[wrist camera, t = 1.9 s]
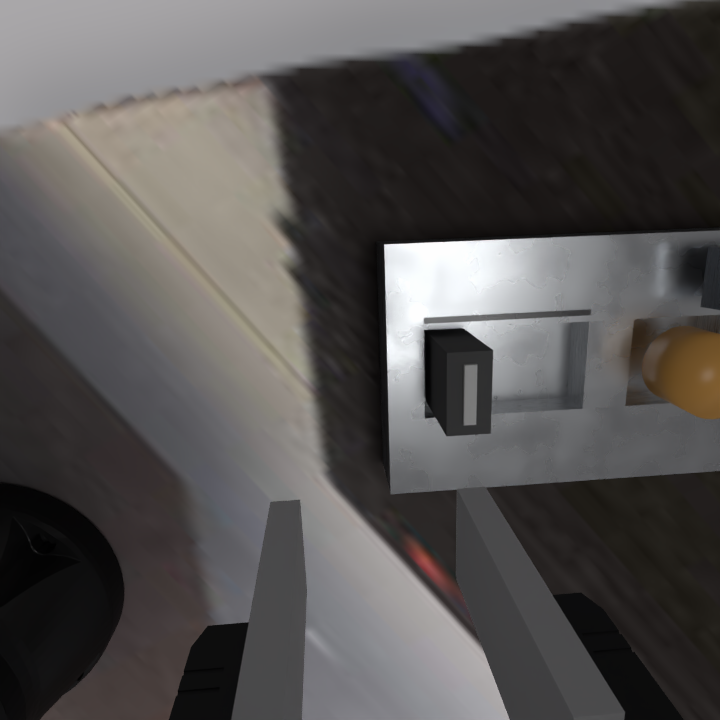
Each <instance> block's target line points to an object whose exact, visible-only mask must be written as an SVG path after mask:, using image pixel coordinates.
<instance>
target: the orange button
mask: <svg viewBox="0 0 720 720" xmlns="http://www.w3.org/2000/svg"><path fill="white" fill-rule="evenodd" d="M642 376H643V380H644V383H645V385H646V386H647V388H648V389H649V390H650V391H651V392H652V393H653V394H655V395H656V396H658V397H660V398H662V399H664V400H666V401H667V402H669V403H671V404H673V405H675V406H677V407H679V408H681V409H683V410H685V411H687V412H689V413H691V414H693V415H695V416H697V417H699V418H703V419H719V418H720V334H718V333H714V332H711V331H707V330H704V329H700V328H697V327H693V326H678V327H674V328H671V329H669V330H667V331H665V332H663V333H662V334H660V335H659V336H658V337H657V338H656V339H655V340H654V341H653V342H652V343H651V344H650V346H649V347H648V349H647V351H646V353H645V355H644V358H643V362H642Z"/></svg>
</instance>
